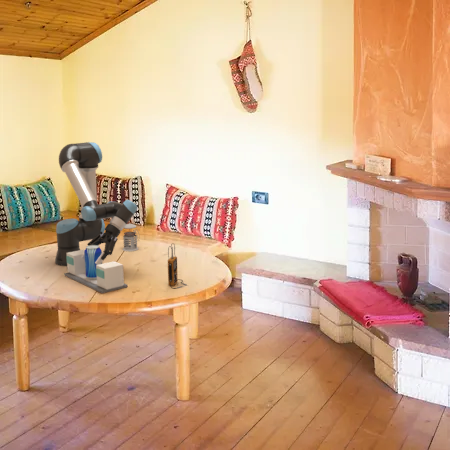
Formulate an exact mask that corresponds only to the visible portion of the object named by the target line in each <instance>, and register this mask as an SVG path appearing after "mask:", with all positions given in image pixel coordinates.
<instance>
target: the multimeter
mask: <svg viewBox="0 0 450 450" xmlns="http://www.w3.org/2000/svg"><path fill="white" fill-rule="evenodd" d="M170 245H171V246H170ZM170 245H169V246H168V250H167V251H168V252H167V254H168V256H167V257H168V259H167V280H168V281H167V282H168V283H167V285H168V286H170V288H171V289H180V288H182V287H183V286H188V287H189V285H188V284H187V283H184V280H183V279H179V278H178V256H176V244H173V243H171V244H170ZM173 245H174V250H173ZM170 249H171V256H169V255H170V252H169V251H170ZM178 281H181V284H182V285H181V286H177V287H174V286H175V285H176V284H177V283H178Z"/></svg>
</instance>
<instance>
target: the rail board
mask: <svg viewBox="0 0 450 450" xmlns="http://www.w3.org/2000/svg"><path fill="white" fill-rule="evenodd" d="M84 251H85V249H80V250H78V251H73V252H68V253H66V254H67V256H66V259H67V268H66V269H67V272H65V273H63V274H64V275H65V276H64V275H63V276H64V277H66V276H67V277H66V278H69V279H71V280H73V281H75V282H77V283H79V284H82V285H84V286H86V287H88V288H90V289H92V290H94V291H96V292H99V293H101V294H105V293H110V292H113V291H117V290H120V289H124V288H128V284H126V283H125V280H124V278H125V277H124V264H122V263H120V262H117V261H115V260H114V261H113V260H112V261H108V262H104V263H102V264H99V265H96V276H97V279H96V280H90V279H88V278H87V277H86V271H85V260H84V259H83V258H81V257H82V256H83V254H84Z"/></svg>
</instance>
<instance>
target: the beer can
mask: <svg viewBox="0 0 450 450" xmlns="http://www.w3.org/2000/svg"><path fill="white" fill-rule="evenodd" d="M84 250H85V251H84V255H85V271H86V277H87V278H88V279H90V280H96V279H97V276H96V265H97V264H96V263H95V262H96V261H97V259H98V258H99V257H100V255H101V254H102V252H103V251H102V249H101V248H100V245H89V246H88V245H86V246H85V249H84ZM101 264H103V262H102V263H101Z"/></svg>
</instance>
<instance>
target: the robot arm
mask: <svg viewBox="0 0 450 450" xmlns="http://www.w3.org/2000/svg"><path fill="white" fill-rule="evenodd" d="M102 161H103V152H102V150H101V148H100V146H99V144H98V143H96V142H90V141H88V142H87V141H86V142H76V143H69V144H66V145H65V146H63V147H62V149H61V150H60V152H59V155H58V164H59V168H60V169H61V171H62V172H63V173H65V175H66V177H67V178H68V180H69V183H70V185H71V186H72V188H73V191H74V192H75V194H76V196H77V199H78V200H79V202H80V204H81V205H80V207H81V208H80V209H81V210H80V215H79V216H78V219H77V218H66V219H63V220H60V221H58V222H57V223H56V229H55V234H56V241H57V242H56V244H57V251H56V255H55V258H54V260H55V264H56V265H57V264H58V265H57V266H63V267H64V266H65V267H66V266H67V259H66V256H67V254H66V253H68V252H73V251H78V250H81V248H80V243H81V242H84V241H89V242H88V243H86V246H89V245H98V246H100V245H101V244H104V250H103V251H102V254H101V255H100V257H99V258H98V259H97V261H96V262H95V263H96V264H97V265H99V264H101V263H102V264H103V262H104V260H105V259H106V258H107V256H112V255H113V253H114V252H113V251H114V249H115V247H116V243H117V242H118V237H119V235H120V234H121V232H122V231H123V229H125V228H124V227H125V225H126V224H129V220H131V218H133V216H134V215H135V213H136V212H137V210H138V205H137V204H136V203H135V202H134V201H131V200H129V199H126V200H125V201H123V202H122V203H120V202H117V201H114V200H113V201H108V202H106V203H101V204H98V197H97V173H96V170H98V168H99V164H100V163H102ZM110 218H111V219H110ZM105 219H110V221H109V223H108V224H107V225H105V221H104V220H105ZM81 258H83V259H84V260H85V255H84V254H83V256H82V257H81Z"/></svg>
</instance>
